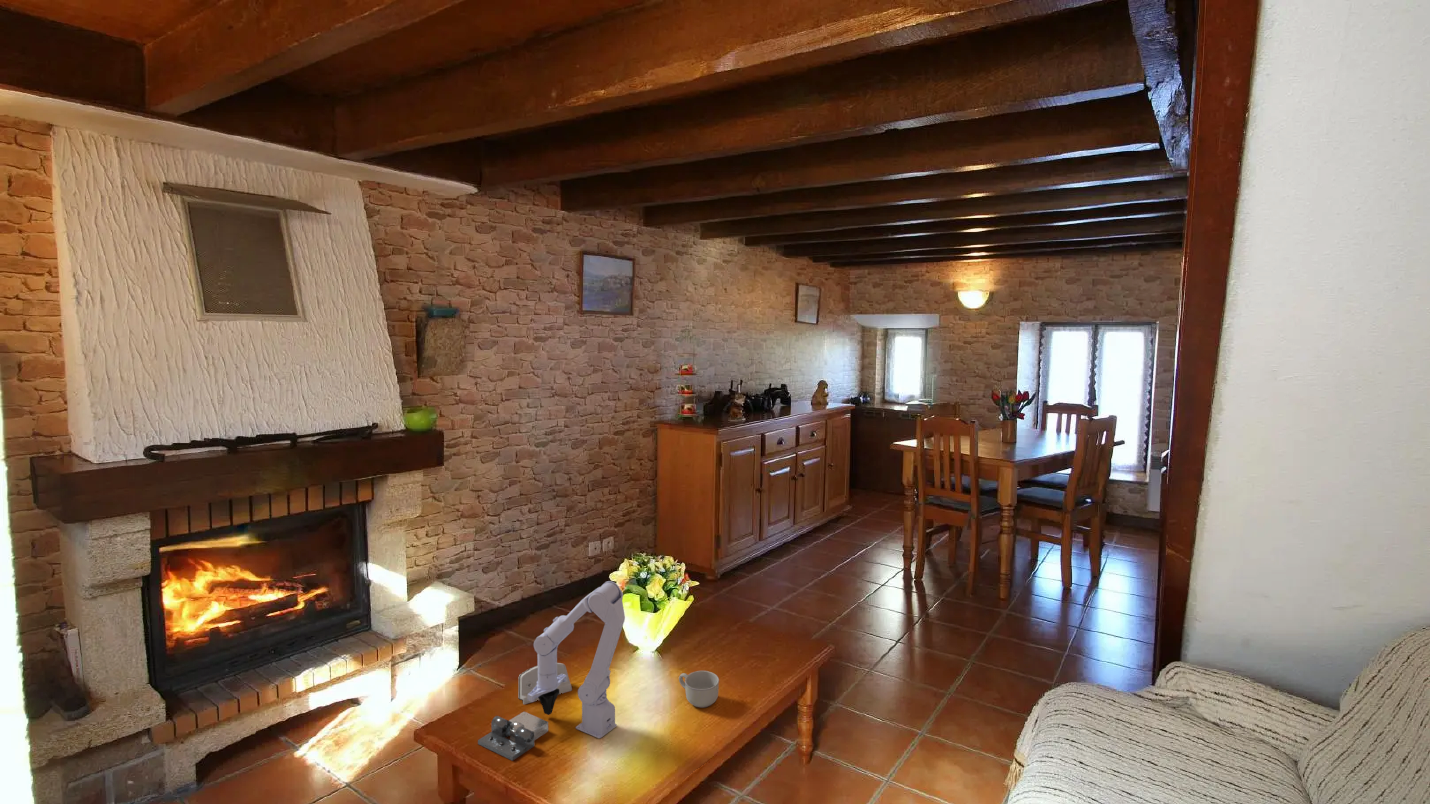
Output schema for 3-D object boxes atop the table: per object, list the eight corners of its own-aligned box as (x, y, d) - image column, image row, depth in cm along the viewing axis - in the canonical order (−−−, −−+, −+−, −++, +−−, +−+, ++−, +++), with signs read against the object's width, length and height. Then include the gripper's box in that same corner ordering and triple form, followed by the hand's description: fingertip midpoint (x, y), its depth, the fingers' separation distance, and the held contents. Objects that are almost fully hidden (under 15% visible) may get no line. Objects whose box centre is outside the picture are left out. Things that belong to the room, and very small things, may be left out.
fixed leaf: (534, 746, 199) (534, 729, 199) (512, 760, 193) (512, 743, 192) (499, 730, 207) (499, 713, 206) (477, 743, 200) (477, 727, 199)
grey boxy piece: (548, 731, 207) (548, 716, 206) (524, 746, 199) (524, 731, 199) (524, 720, 212) (524, 706, 211) (500, 735, 204) (500, 720, 204)
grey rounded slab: (522, 704, 220) (518, 671, 222) (518, 703, 224) (514, 670, 226) (573, 690, 230) (568, 658, 231) (567, 688, 233) (563, 657, 235)
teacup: (725, 702, 224) (725, 678, 223) (701, 716, 216) (702, 691, 215) (694, 686, 233) (694, 663, 232) (670, 698, 225) (670, 675, 224)
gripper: (554, 657, 220) (555, 698, 222) (519, 677, 208) (520, 720, 209) (571, 663, 216) (572, 704, 218) (537, 683, 204) (537, 727, 206)
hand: (548, 712), depth 213 cm, fingers closed
